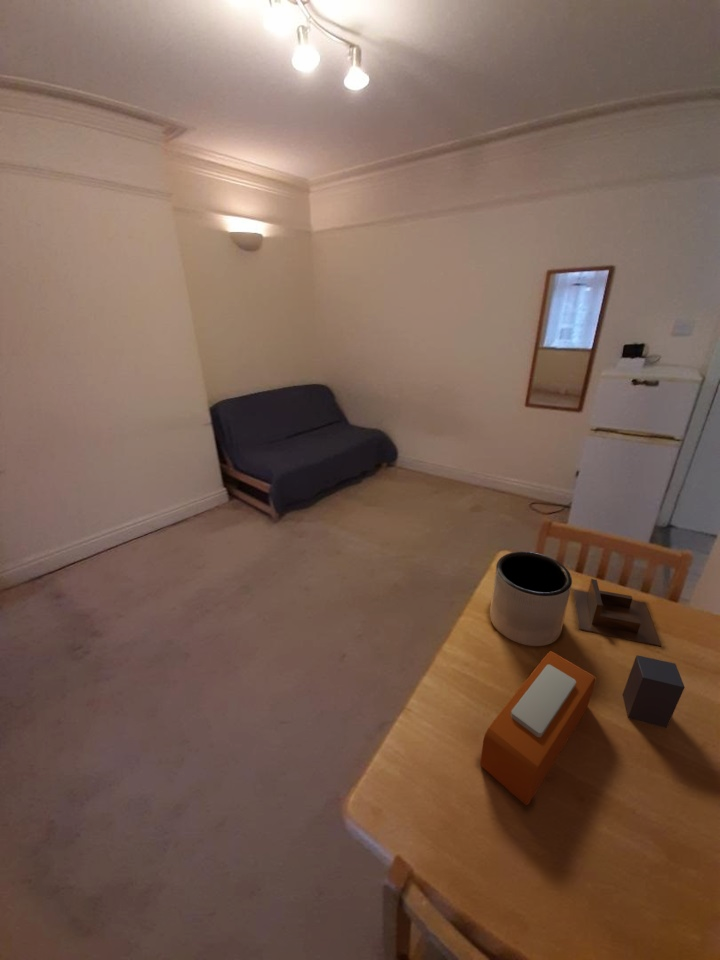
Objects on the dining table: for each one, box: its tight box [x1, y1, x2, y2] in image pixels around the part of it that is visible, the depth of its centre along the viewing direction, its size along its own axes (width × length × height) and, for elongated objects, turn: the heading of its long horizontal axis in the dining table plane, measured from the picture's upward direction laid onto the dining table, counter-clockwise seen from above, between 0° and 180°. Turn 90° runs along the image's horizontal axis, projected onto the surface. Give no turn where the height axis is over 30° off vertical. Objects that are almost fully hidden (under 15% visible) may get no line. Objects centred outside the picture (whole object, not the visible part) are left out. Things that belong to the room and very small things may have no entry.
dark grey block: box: [622, 654, 685, 729], centre depth 73 cm, size 6×5×12 cm
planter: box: [489, 551, 573, 647], centre depth 94 cm, size 16×16×16 cm
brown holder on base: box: [572, 578, 662, 648], centre depth 95 cm, size 16×14×8 cm
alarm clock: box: [480, 651, 597, 806], centre depth 70 cm, size 24×8×11 cm, turn 132°
